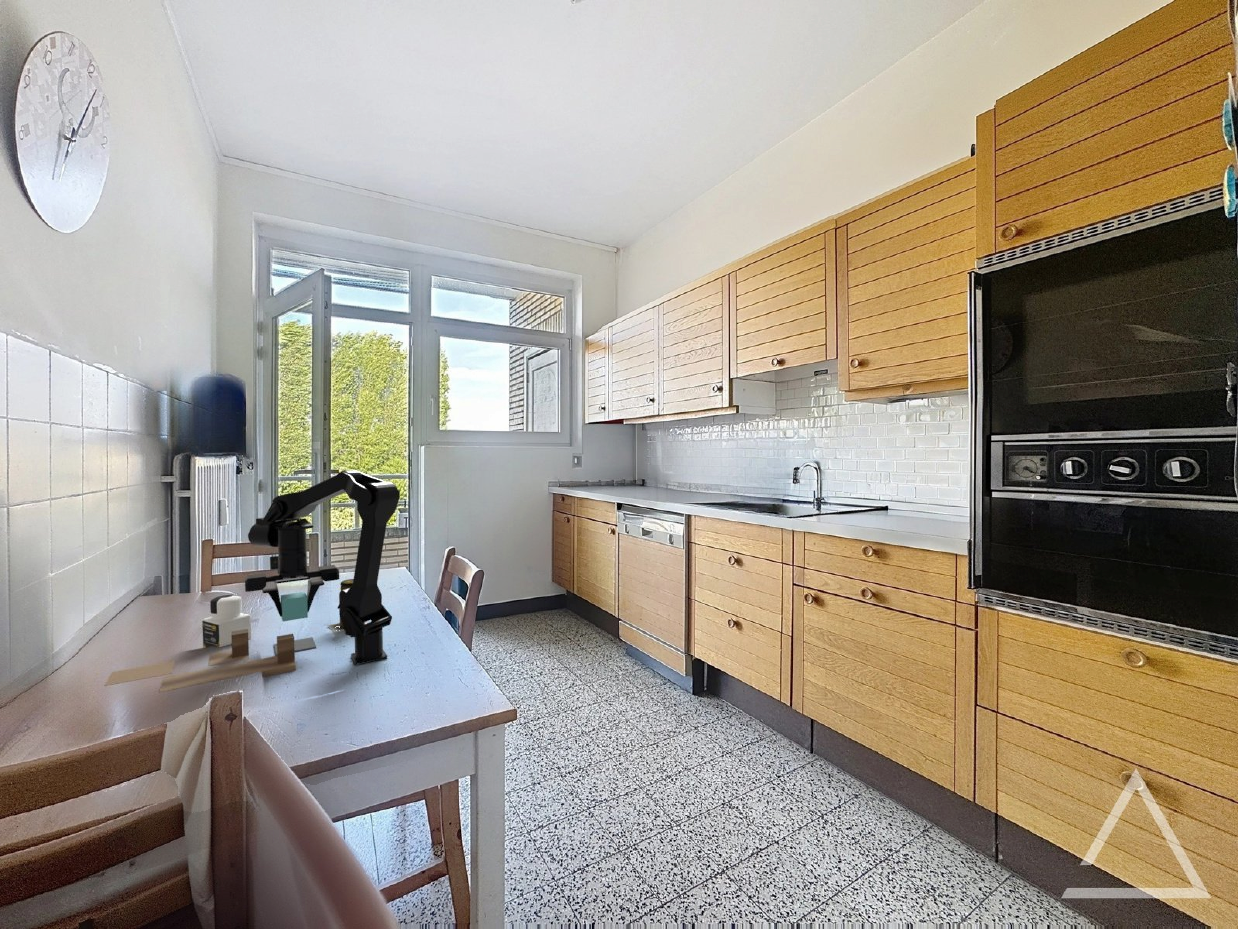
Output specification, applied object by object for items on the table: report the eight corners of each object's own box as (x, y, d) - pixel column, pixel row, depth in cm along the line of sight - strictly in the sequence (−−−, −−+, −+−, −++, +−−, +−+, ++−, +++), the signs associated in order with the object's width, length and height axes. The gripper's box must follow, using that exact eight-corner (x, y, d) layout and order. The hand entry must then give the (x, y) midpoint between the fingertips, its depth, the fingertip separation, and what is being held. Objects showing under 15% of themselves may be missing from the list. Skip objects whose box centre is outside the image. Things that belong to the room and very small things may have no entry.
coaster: (316, 649, 127) (316, 646, 127) (275, 657, 122) (275, 654, 122) (312, 639, 133) (312, 637, 133) (273, 646, 129) (273, 644, 129)
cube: (307, 617, 127) (307, 596, 127) (282, 621, 124) (282, 599, 124) (305, 612, 131) (304, 591, 131) (281, 616, 128) (280, 595, 128)
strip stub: (249, 663, 118) (248, 635, 117) (208, 671, 114) (207, 642, 113) (248, 652, 124) (247, 625, 124) (210, 659, 120) (209, 632, 120)
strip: (296, 670, 114) (295, 640, 114) (159, 698, 101) (158, 665, 101) (292, 658, 121) (292, 630, 120) (164, 683, 108) (163, 652, 108)
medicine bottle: (202, 648, 128) (200, 598, 127) (235, 639, 134) (234, 591, 134) (218, 654, 124) (217, 602, 124) (252, 644, 131) (250, 594, 130)
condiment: (370, 625, 144) (369, 580, 143) (335, 633, 138) (334, 586, 137) (360, 619, 149) (359, 576, 149) (327, 626, 143) (325, 581, 143)
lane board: (219, 690, 105) (218, 682, 105) (67, 722, 93) (67, 714, 93) (221, 656, 123) (221, 650, 122) (93, 680, 110) (93, 673, 110)
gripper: (332, 539, 139) (333, 599, 139) (243, 547, 128) (245, 613, 129) (338, 545, 130) (340, 610, 130) (244, 554, 119) (246, 625, 120)
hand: (294, 614), depth 127 cm, fingers closed on cube, 5 cm apart
